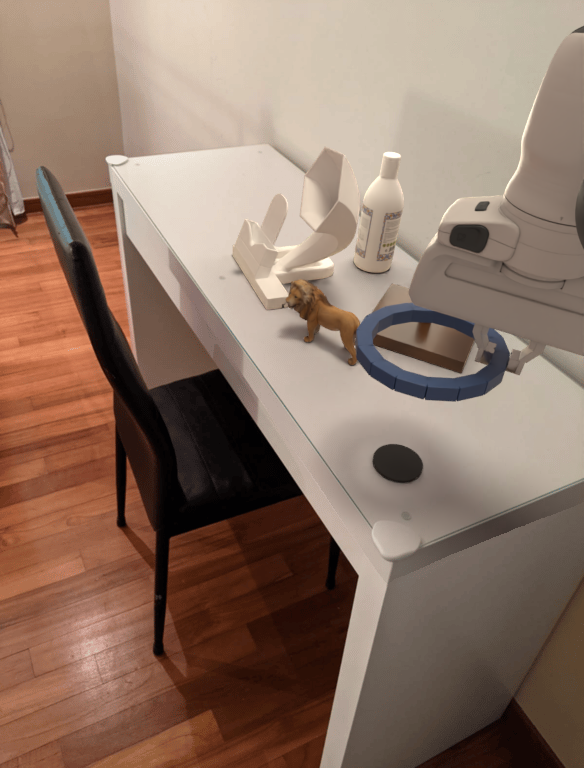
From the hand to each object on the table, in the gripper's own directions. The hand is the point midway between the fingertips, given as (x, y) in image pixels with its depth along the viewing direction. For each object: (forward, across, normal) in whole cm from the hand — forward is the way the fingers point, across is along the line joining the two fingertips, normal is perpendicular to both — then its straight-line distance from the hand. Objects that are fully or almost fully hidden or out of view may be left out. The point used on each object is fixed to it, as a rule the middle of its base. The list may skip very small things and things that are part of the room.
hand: (497, 365), depth 60 cm
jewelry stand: (+18, +34, -32) cm, 50 cm away
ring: (+1, +7, 0) cm, 7 cm away
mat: (+18, +7, 0) cm, 19 cm away
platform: (+18, +12, -30) cm, 37 cm away
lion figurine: (+18, +24, -18) cm, 35 cm away
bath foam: (+18, +26, -46) cm, 56 cm away
